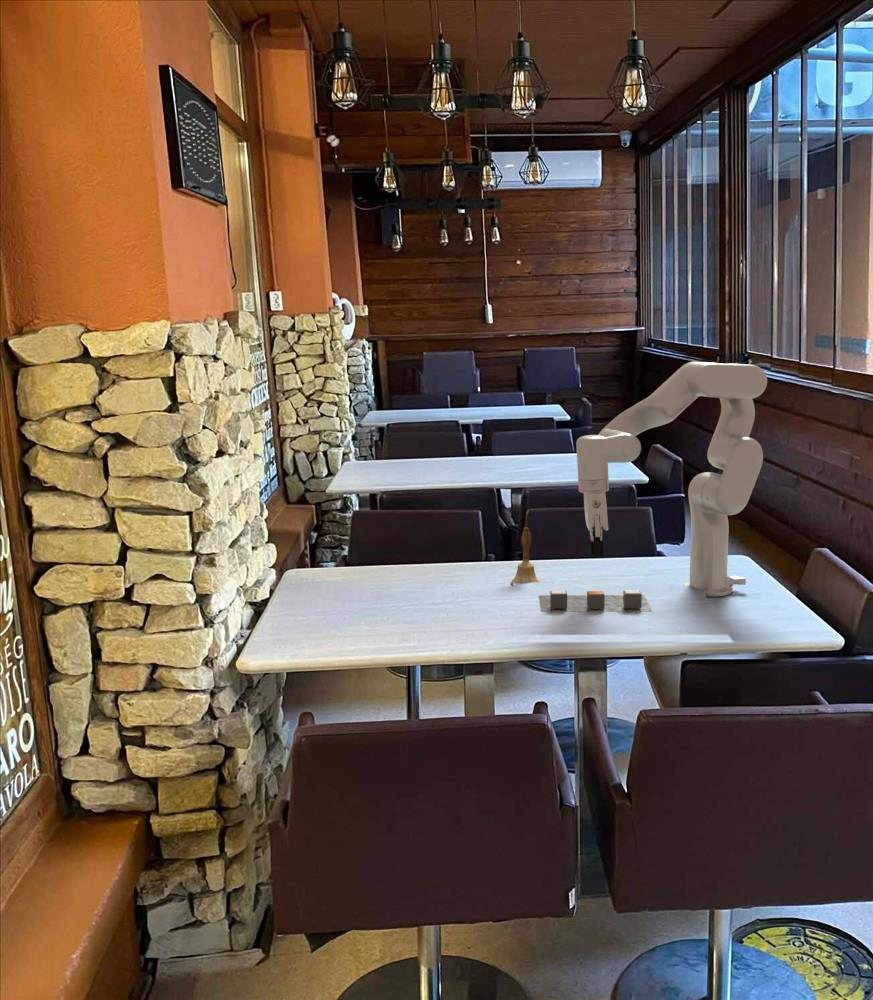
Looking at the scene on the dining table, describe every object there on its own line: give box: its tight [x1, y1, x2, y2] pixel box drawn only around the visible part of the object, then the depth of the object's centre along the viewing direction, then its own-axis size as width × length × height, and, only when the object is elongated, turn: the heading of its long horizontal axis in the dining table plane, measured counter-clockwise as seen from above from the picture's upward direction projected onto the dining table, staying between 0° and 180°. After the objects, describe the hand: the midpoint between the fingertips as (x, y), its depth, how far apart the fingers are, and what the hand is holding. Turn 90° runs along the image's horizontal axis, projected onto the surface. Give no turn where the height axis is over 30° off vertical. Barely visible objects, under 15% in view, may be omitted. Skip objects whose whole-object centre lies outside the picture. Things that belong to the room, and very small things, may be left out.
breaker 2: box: [622, 589, 643, 608], centre depth 231 cm, size 4×3×4 cm
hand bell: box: [510, 526, 541, 586], centre depth 260 cm, size 8×8×16 cm
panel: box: [538, 594, 653, 613], centre depth 237 cm, size 27×14×2 cm, turn 86°
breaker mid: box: [586, 590, 606, 609], centre depth 232 cm, size 4×3×4 cm
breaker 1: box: [549, 590, 568, 608], centre depth 233 cm, size 4×3×4 cm
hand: (597, 555), depth 239 cm, fingers closed
